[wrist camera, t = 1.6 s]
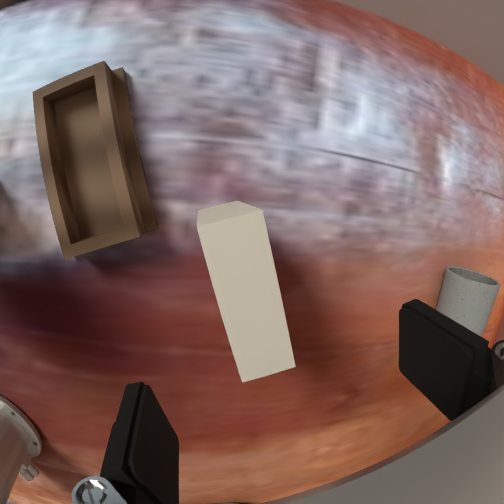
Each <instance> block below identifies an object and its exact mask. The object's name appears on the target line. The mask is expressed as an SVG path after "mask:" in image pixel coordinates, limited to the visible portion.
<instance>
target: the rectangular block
mask: <svg viewBox="0 0 504 504" xmlns="http://www.w3.org/2000/svg"><path fill="white" fill-rule="evenodd" d="M197 229H198V233H199V237H200V240H201V244H202V248H203V252H204V255H205V259H206V263H207V266H208V270H209V274H210V277H211V281H212V284H213V288H214V291H215V295H216V298H217V302H218V305H219V309H220V312H221V315H222V319H223V322H224V325H225V329H226V332H227V335H228V339H229V342H230V345H231V348H232V352H233V355H234V358H235V361H236V364H237V367H238V371H239V374H240V377H241V380H242V382H246V381H249V380H253V379H257V378H260V377H264V376H267V375H270V374H274V373H277V372H280V371H284V370H287V369H290V368H293V367H296V366H295V361H294V356H293V351H292V347H291V342H290V337H289V332H288V327H287V322H286V317H285V312H284V308H283V303H282V298H281V293H280V289H279V284H278V279H277V275H276V270H275V265H274V261H273V256H272V251H271V247H270V242H269V238H268V233H267V229H266V224H265V220H264V215H263V211H262V210H261V209H258V208H255V207H253V206H250V205H247V204H245V203H242V202H239V201H234V202H230V203H226V204H222V205H218V206H214V207H210V208H206V209H202V210H198V218H197Z"/></svg>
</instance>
